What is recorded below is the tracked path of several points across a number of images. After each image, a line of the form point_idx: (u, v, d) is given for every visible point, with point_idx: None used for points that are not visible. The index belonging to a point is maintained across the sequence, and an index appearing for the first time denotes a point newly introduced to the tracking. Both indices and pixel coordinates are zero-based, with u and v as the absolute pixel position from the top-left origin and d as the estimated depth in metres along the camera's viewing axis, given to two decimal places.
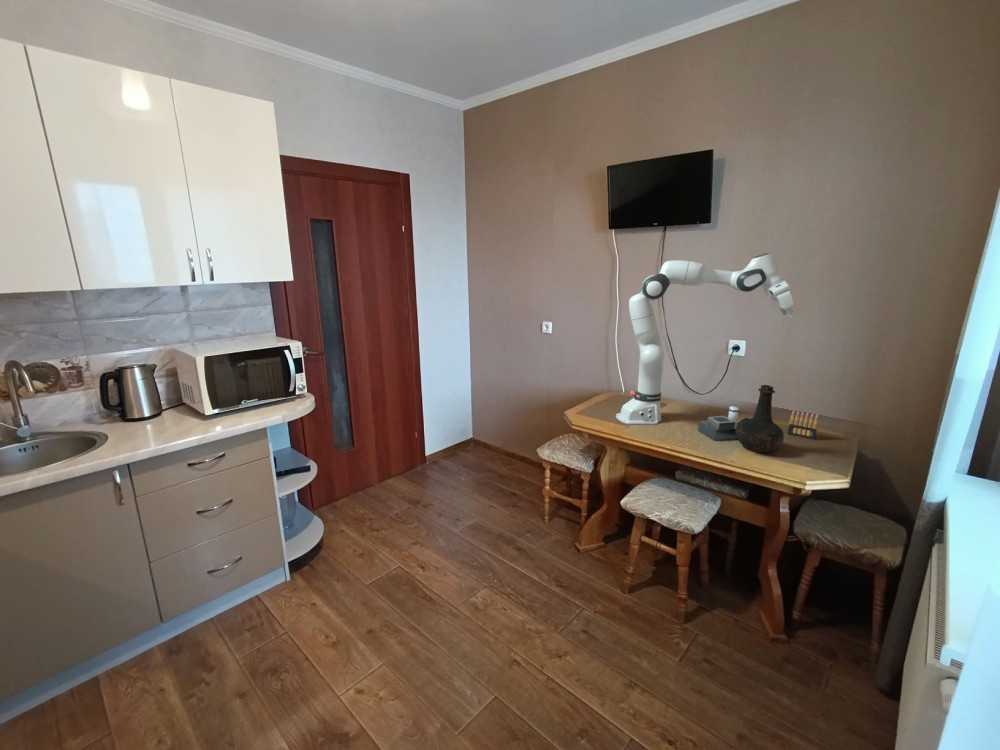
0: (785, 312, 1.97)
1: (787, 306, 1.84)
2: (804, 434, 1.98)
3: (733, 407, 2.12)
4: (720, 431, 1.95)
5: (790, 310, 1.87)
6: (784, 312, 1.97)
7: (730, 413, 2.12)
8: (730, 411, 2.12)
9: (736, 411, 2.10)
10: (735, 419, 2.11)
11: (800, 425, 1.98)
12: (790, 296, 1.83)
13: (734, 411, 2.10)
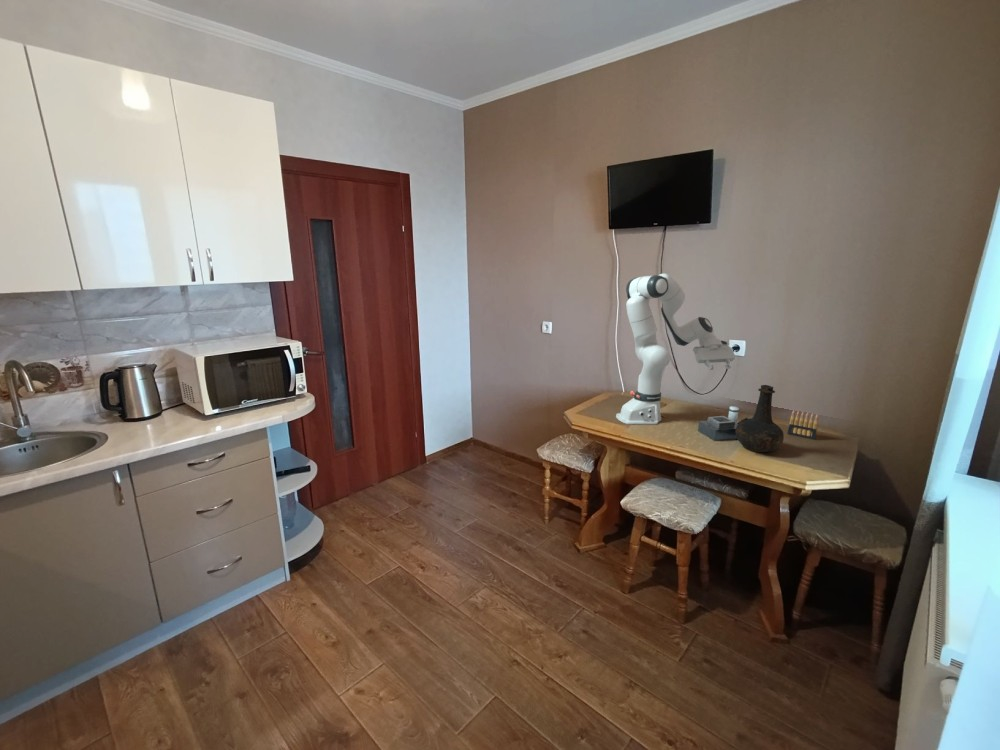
0: None
1: None
2: (804, 434, 1.98)
3: (733, 407, 2.12)
4: (720, 431, 1.95)
5: None
6: None
7: (730, 413, 2.12)
8: (730, 411, 2.12)
9: (736, 411, 2.10)
10: (735, 419, 2.11)
11: (800, 425, 1.98)
12: None
13: (734, 411, 2.10)
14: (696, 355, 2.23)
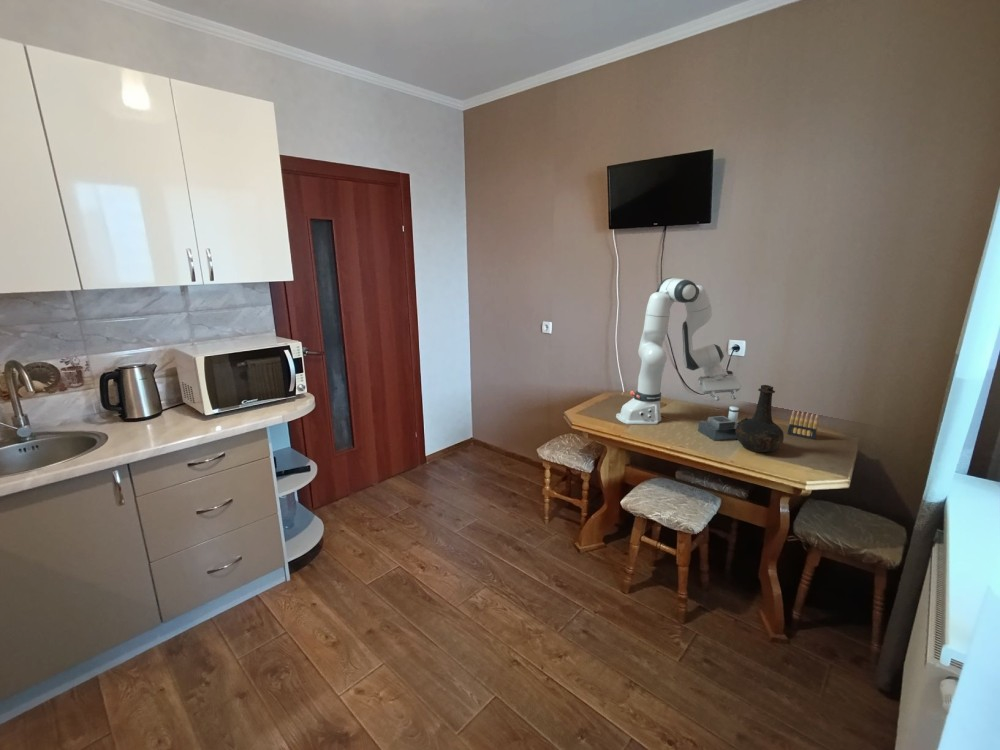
0: None
1: None
2: (804, 434, 1.98)
3: (733, 407, 2.12)
4: (720, 431, 1.95)
5: None
6: None
7: (730, 413, 2.12)
8: (730, 411, 2.12)
9: (736, 411, 2.10)
10: (735, 419, 2.11)
11: (800, 425, 1.98)
12: None
13: (734, 411, 2.10)
14: (701, 385, 2.20)
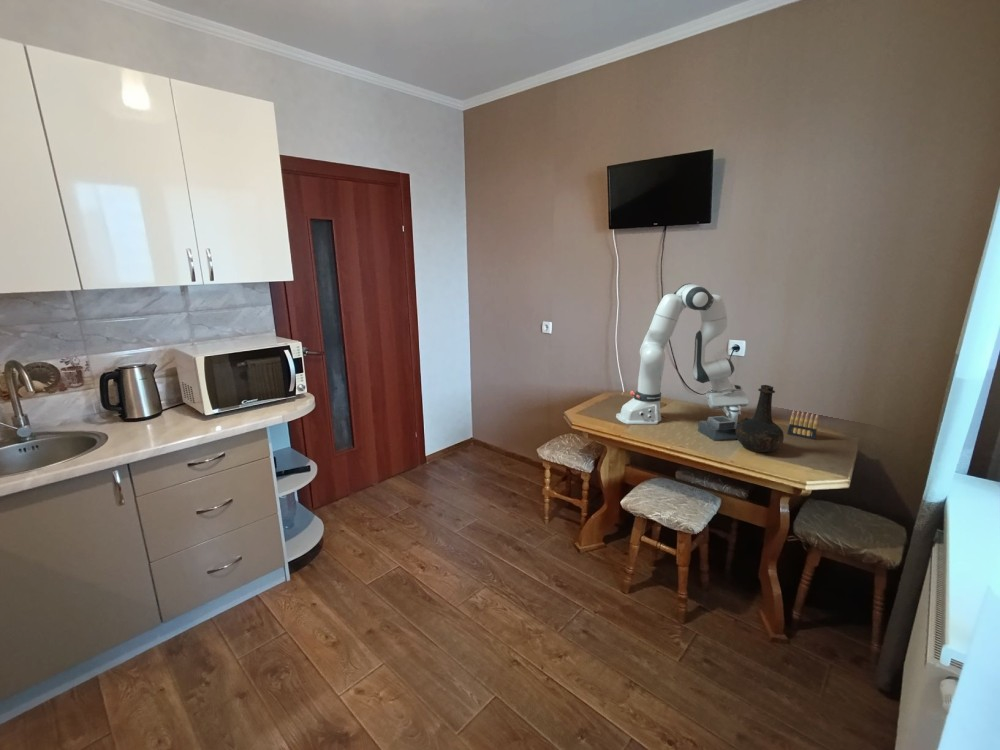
0: None
1: None
2: (804, 434, 1.98)
3: (733, 407, 2.12)
4: (720, 431, 1.95)
5: None
6: None
7: None
8: (730, 411, 2.12)
9: (736, 411, 2.10)
10: (735, 419, 2.11)
11: (800, 425, 1.98)
12: None
13: (734, 411, 2.10)
14: (709, 400, 2.15)
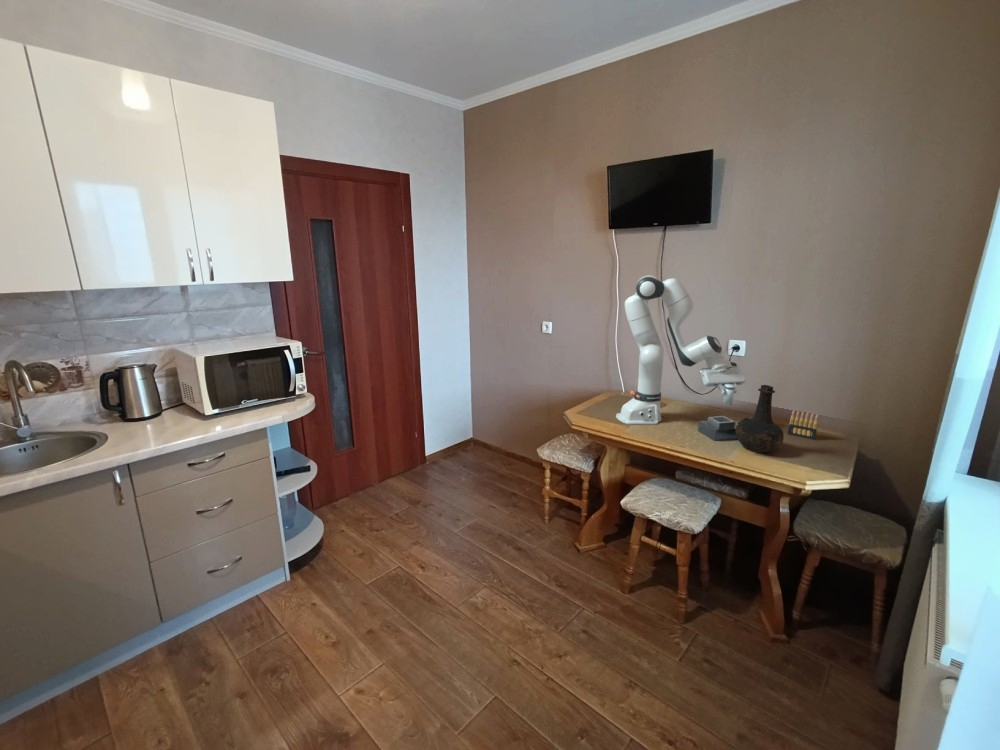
0: None
1: None
2: (804, 434, 1.98)
3: (729, 384, 2.02)
4: (720, 431, 1.95)
5: None
6: None
7: None
8: (726, 389, 2.01)
9: (732, 388, 2.00)
10: (731, 397, 2.01)
11: (800, 425, 1.98)
12: None
13: (730, 388, 2.00)
14: (703, 377, 2.04)
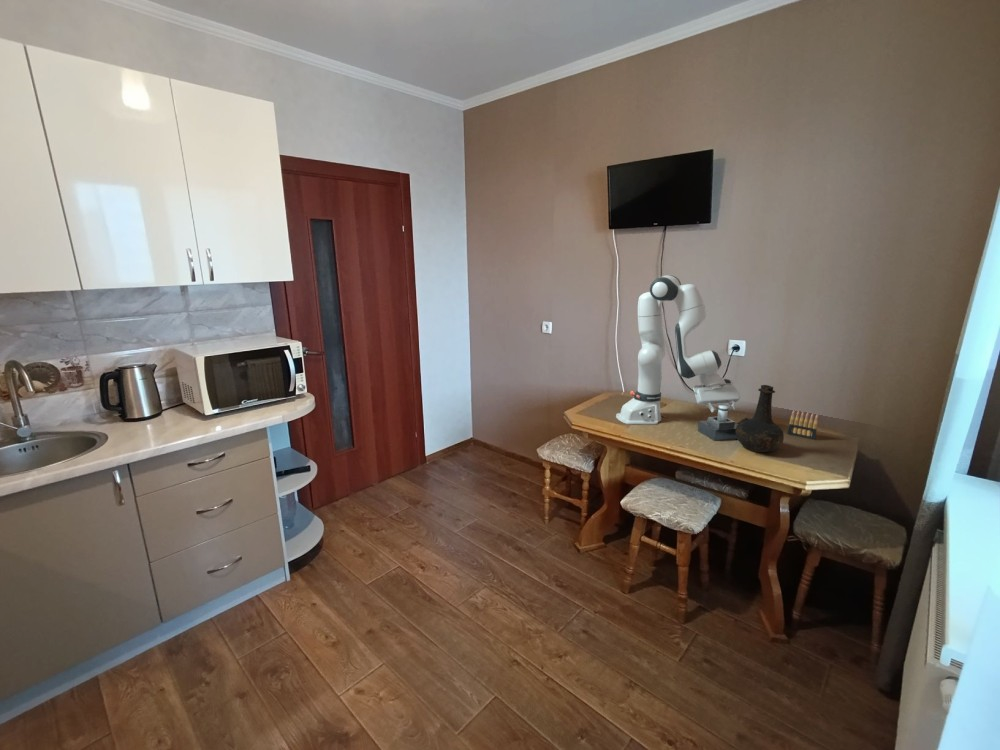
0: None
1: None
2: (804, 434, 1.98)
3: (722, 405, 1.99)
4: (720, 431, 1.95)
5: None
6: None
7: (719, 412, 1.99)
8: (719, 410, 1.99)
9: (725, 410, 1.97)
10: (724, 418, 1.98)
11: (800, 425, 1.98)
12: None
13: (723, 410, 1.97)
14: (697, 395, 2.01)
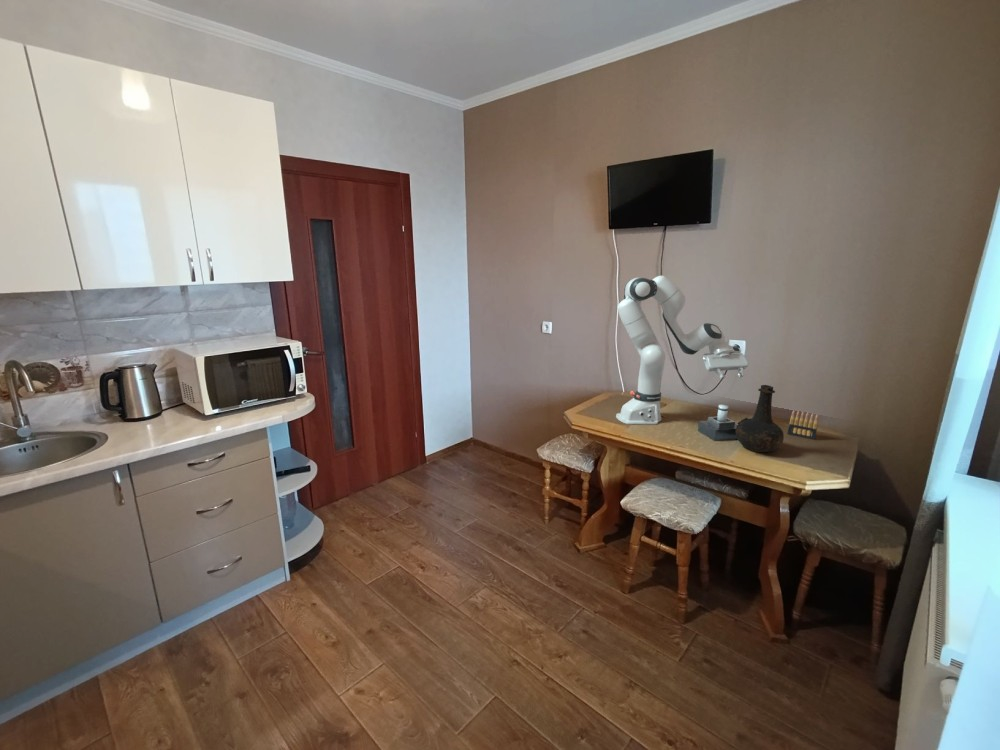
0: None
1: None
2: (804, 434, 1.98)
3: (722, 405, 1.99)
4: (720, 431, 1.95)
5: None
6: None
7: (719, 412, 1.99)
8: (719, 410, 1.99)
9: (725, 410, 1.97)
10: (724, 418, 1.98)
11: (800, 425, 1.98)
12: None
13: (723, 410, 1.97)
14: (706, 363, 2.08)
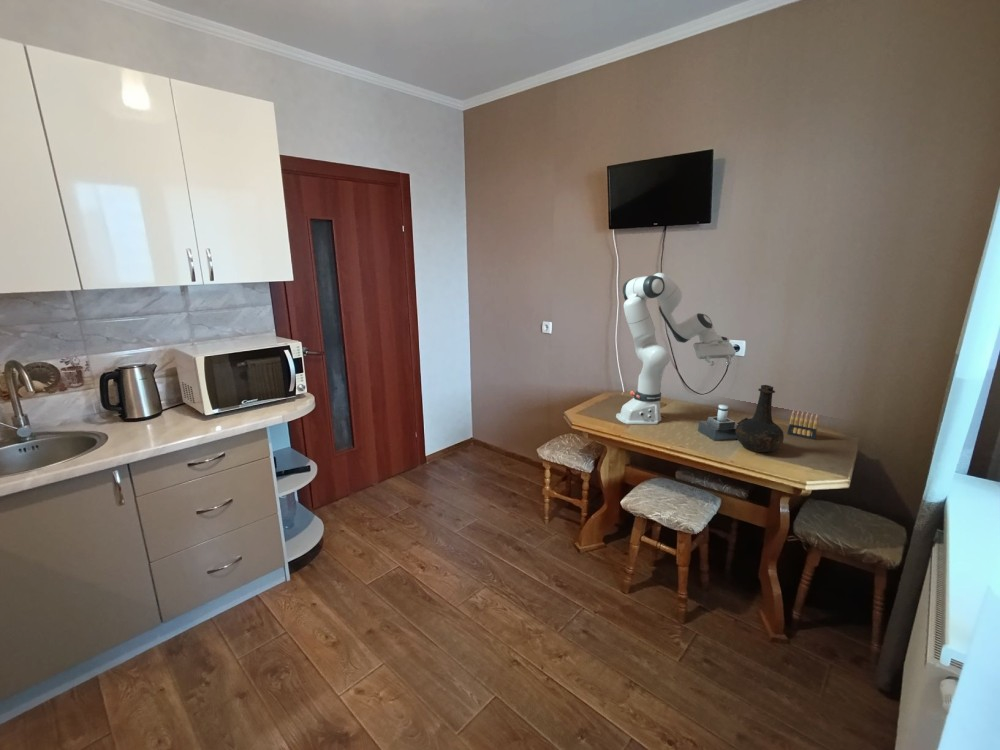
0: None
1: None
2: (804, 434, 1.98)
3: (722, 405, 1.99)
4: (720, 431, 1.95)
5: None
6: None
7: (719, 412, 1.99)
8: (719, 410, 1.99)
9: (725, 410, 1.97)
10: (724, 418, 1.98)
11: (800, 425, 1.98)
12: None
13: (723, 410, 1.97)
14: (696, 351, 2.23)
